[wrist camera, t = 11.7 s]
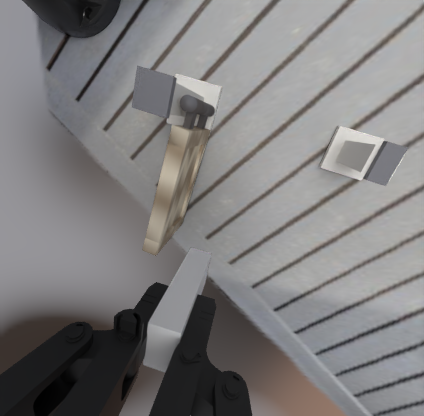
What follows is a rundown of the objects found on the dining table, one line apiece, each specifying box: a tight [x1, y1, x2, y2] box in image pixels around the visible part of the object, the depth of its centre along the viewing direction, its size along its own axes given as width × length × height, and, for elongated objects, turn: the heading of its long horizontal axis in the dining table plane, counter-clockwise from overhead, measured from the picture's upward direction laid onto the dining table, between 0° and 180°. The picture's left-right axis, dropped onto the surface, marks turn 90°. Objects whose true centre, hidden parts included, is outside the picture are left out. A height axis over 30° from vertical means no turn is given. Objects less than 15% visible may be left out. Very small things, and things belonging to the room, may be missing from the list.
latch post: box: [319, 126, 408, 186], centre depth 28 cm, size 6×6×11 cm
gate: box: [143, 95, 215, 256], centre depth 32 cm, size 20×2×11 cm, turn 161°
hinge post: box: [132, 66, 222, 136], centre depth 28 cm, size 7×7×15 cm
